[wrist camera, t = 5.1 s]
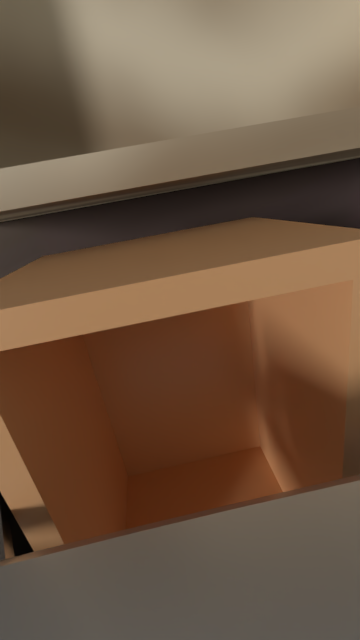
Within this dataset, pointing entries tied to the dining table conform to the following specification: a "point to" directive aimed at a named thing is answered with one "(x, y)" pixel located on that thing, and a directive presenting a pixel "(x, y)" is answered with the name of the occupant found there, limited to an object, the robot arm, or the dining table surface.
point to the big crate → (169, 95)
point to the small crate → (178, 375)
